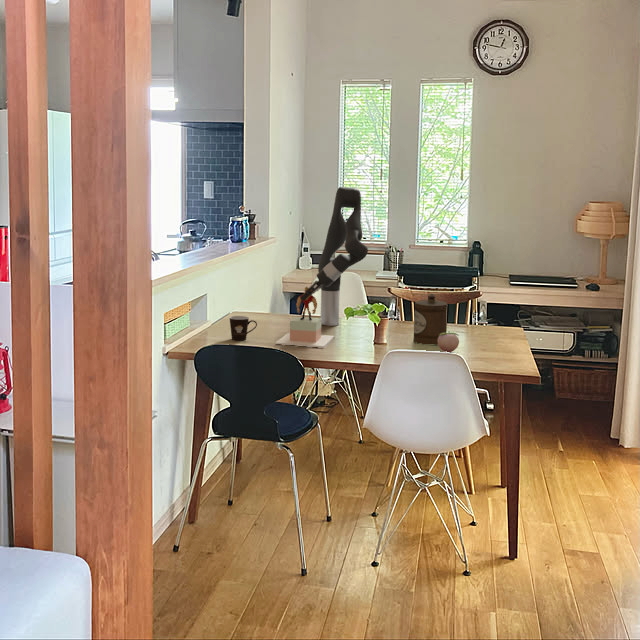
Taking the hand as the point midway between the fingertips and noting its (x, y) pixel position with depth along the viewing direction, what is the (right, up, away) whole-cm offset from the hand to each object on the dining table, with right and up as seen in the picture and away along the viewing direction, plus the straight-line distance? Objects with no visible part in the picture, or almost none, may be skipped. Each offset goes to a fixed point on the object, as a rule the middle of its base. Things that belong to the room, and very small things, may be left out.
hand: (303, 298), depth 361 cm
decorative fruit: (+62, -24, -13) cm, 68 cm away
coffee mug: (-28, -19, +4) cm, 34 cm away
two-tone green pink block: (+1, -19, +4) cm, 20 cm away
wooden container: (+57, -20, +9) cm, 61 cm away
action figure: (+1, -10, +2) cm, 10 cm away
